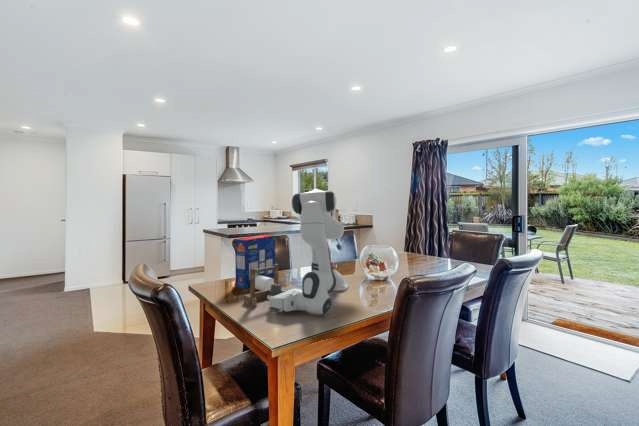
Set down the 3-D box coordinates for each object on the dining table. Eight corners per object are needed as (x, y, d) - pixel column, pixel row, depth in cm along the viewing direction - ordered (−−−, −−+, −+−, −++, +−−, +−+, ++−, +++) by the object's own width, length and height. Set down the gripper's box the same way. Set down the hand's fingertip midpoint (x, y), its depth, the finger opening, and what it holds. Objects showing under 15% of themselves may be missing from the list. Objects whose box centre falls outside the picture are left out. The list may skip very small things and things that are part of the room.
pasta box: (265, 277, 209) (265, 234, 207) (275, 278, 205) (275, 235, 204) (235, 287, 184) (235, 239, 183) (246, 289, 180) (246, 240, 179)
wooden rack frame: (279, 299, 161) (279, 264, 161) (253, 307, 150) (253, 269, 149) (269, 296, 167) (269, 262, 166) (244, 303, 156) (243, 266, 155)
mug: (264, 294, 171) (264, 279, 171) (252, 290, 177) (252, 276, 177) (280, 289, 180) (280, 275, 180) (269, 286, 187) (269, 272, 186)
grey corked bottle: (282, 304, 154) (282, 282, 154) (279, 308, 149) (279, 285, 149) (272, 304, 155) (272, 282, 154) (269, 307, 150) (269, 284, 150)
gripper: (310, 287, 154) (288, 283, 161) (284, 298, 136) (260, 293, 144) (310, 300, 154) (288, 295, 161) (284, 312, 137) (260, 306, 144)
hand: (274, 294), depth 152 cm, fingers open, 8 cm apart
